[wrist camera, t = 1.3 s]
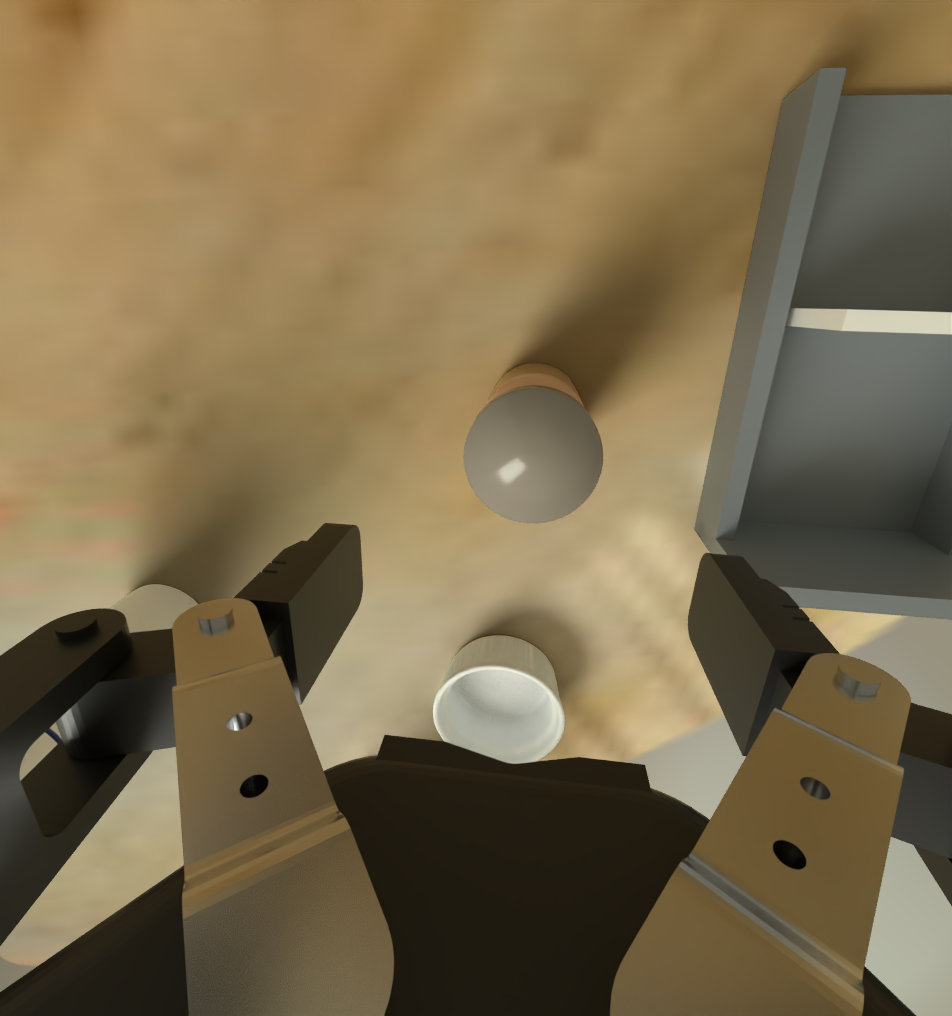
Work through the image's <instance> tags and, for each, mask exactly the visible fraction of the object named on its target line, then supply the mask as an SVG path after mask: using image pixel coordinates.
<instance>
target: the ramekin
mask: <svg viewBox="0 0 952 1016" xmlns="http://www.w3.org/2000/svg"><path fill="white" fill-rule="evenodd" d="M433 719H434V723H435V726H436V729H437V731H438V733H439V734H440V736H441V737H442V739H443V740H444V741H445V742H448V743H451V744H454V745H457V746H459V747H462V748H465V749H468V750H471V751H474V752H477V753H480V754H483V755H486V756H488V757H491V758H494V759H497V760H500V761H503V762H506V763H512V764H519V763H528V762H535V761H537V760H539V759H541V758H543V757H544V756H546V755H547V754H548V753H550V752H551V751H552V750H553V749H554V748H555V746H556V745H557V744H558V742H559V741H560V739H561V737H562V735H563V732H564V728H565V713H564V709H563V705H562V702H561V700H560V698H559V692H558V687H557V681H556V677H555V672H554V669H553V667H552V665H551V663H550V662H549V660H548V659H547V657H546V656H545V655H544V654H543V653H542V652H541V651H540V650H539V649H538V648H537V647H535V646H533V645H532V644H530V643H528V642H526V641H524V640H521V639H519V638H515V637H511V636H504V635H494V636H487V637H482V638H479V639H476V640H474V641H472V642H470V643H469V644H467V645H466V646H465V647H463V648H462V649H461V650H460V651H459V652H458V653H457V654H456V655H455V657H454V658H453V659H452V661H451V663H450V666H449V668H448V670H447V673H446V676H445V679H444V682H443V684H442V686H441V687H440V689H439V691H438V693H437V695H436V697H435V700H434V704H433Z"/></svg>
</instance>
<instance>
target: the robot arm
mask: <svg viewBox="0 0 952 1016" xmlns="http://www.w3.org/2000/svg"><path fill="white" fill-rule="evenodd" d="M362 591H363V576H362V559H361V541H360V532H359V529H358V527H357V526H356V525H346V524H333V523H325V524H323V525H322V526H321V527H320V528H319V530H318V531H317V532H316V533H315V534H314V535H313V536H312V537H311V538H310V539H309V540H308V541H300V542H298V543H296V544H294V545H292V546H290V547H288V548H286V549H284V550H283V551H282V552H281V553H280V554H279V555H278V556H277V557H275V558H274V559H273V560H272V563H269V564H268V565H267V566H266V567H265V568H264V569H263V571H262V573H261V572H260V573H259V574H258V575H257V576H256V577H255V578H254V579H253V580H252V581H251V582H250V583H249V584H248V585H247V586H245V587H244V588H243V589H242V590H241V591H240V592H239V593H238V594H237V595H236V596H235V597H234V598H221V599H215V600H211V601H207V602H204V603H201V604H198V605H196V606H194V607H191V608H190V609H188V610H186V611H185V612H183V613H182V614H181V615H180V616H179V617H178V618H177V619H176V620H175V621H174V624H173V627H172V628H171V629H162V630H152V631H143V632H133V633H130V632H129V628H128V624H127V620H126V617H125V615H124V614H123V613H122V612H120V611H118V610H114V609H91V610H84V611H80V612H76V613H72V614H69V615H66V616H63V617H60V618H58V619H56V620H53V621H51V622H49V623H48V624H46V625H44V626H42V627H41V628H39V629H38V630H36V631H35V632H34V633H32V634H31V635H29V636H28V637H26V638H25V639H24V640H22V641H21V642H19V643H18V644H16V645H15V646H14V647H12V648H11V649H9V650H8V651H6V652H5V653H4V654H2V655H1V656H0V946H1V944H2V943H3V942H4V941H5V939H6V938H7V937H8V936H9V934H10V933H11V932H12V930H13V929H14V928H15V927H16V925H17V924H18V923H19V921H20V920H21V919H22V918H23V916H24V915H25V914H26V913H27V911H28V910H29V909H30V907H31V906H32V905H33V904H34V902H35V901H36V900H37V898H38V897H39V896H40V895H41V893H42V892H43V891H44V890H45V888H46V887H47V886H48V884H49V883H50V882H51V881H52V879H53V878H54V877H55V875H56V874H57V873H58V872H59V870H60V869H61V868H62V867H63V865H64V864H65V863H66V861H67V860H68V859H69V858H70V856H71V855H72V854H73V852H74V851H75V850H76V849H77V847H78V846H79V845H80V844H81V842H82V841H83V840H84V838H85V837H86V836H87V835H88V833H89V832H90V831H91V829H92V828H93V827H94V826H95V824H96V823H97V822H98V821H99V819H100V818H101V817H102V815H103V814H104V813H105V812H106V810H107V809H108V808H109V807H110V805H111V804H112V803H113V801H114V800H115V799H116V798H117V796H118V795H119V794H120V792H121V791H122V790H123V789H124V787H125V786H126V785H127V784H128V782H129V781H130V780H131V778H132V777H133V776H134V775H135V773H136V772H137V771H138V769H139V768H140V767H141V766H142V764H143V763H144V762H145V761H146V759H147V758H148V757H149V755H150V754H151V753H152V751H153V750H158V749H164V748H171V747H176V756H177V770H178V785H179V799H180V814H181V828H182V843H183V857H184V866H182V867H181V868H179V869H178V870H176V871H175V872H173V873H172V874H171V875H169V876H168V877H166V878H165V879H163V880H162V881H160V882H159V883H158V884H156V885H155V886H153V887H152V888H150V889H149V890H147V891H146V892H144V893H143V894H142V895H140V896H139V897H137V898H136V899H134V900H133V901H131V902H130V903H129V904H127V905H126V906H124V907H123V908H121V909H120V910H118V911H117V912H116V913H114V914H113V915H111V916H110V917H108V918H107V919H105V920H104V921H103V922H101V923H100V924H98V925H97V926H95V927H94V928H92V929H91V930H90V931H88V932H87V933H85V934H84V935H82V936H81V937H79V938H78V939H77V940H75V941H74V942H72V943H71V944H69V945H68V946H66V947H65V948H64V949H62V950H61V951H59V952H58V953H56V954H55V955H53V956H52V957H50V958H49V959H48V960H46V961H45V962H43V963H42V964H40V965H39V966H37V967H36V968H35V969H33V970H32V971H30V972H29V973H27V974H26V975H24V976H23V977H22V978H20V979H19V980H17V981H16V982H14V983H13V984H11V985H10V986H9V987H7V988H6V989H4V990H3V991H1V992H0V1016H916V1015H915V1014H914V1013H913V1012H912V1011H911V1010H910V1009H909V1008H908V1007H907V1006H906V1005H904V1004H903V1003H902V1002H901V1001H900V1000H899V999H898V998H897V997H896V996H895V995H894V994H893V993H892V992H891V991H890V990H889V989H888V988H887V987H886V986H885V985H884V984H883V983H882V982H881V981H879V980H878V979H877V978H876V977H875V976H874V975H873V974H872V973H871V972H870V971H869V970H868V969H867V968H866V967H865V966H864V965H865V960H866V955H867V950H868V946H869V941H870V936H871V931H872V926H873V921H874V916H875V911H876V906H877V901H878V896H879V892H880V887H881V882H882V877H883V872H884V867H885V862H886V858H887V852H888V848H889V842H890V838H891V837H894V838H896V839H899V840H902V841H905V842H907V843H910V844H912V845H914V846H915V848H916V850H917V852H918V853H919V855H920V856H921V858H922V860H923V861H924V863H925V864H926V866H927V867H928V869H929V871H930V872H931V874H932V875H933V877H934V879H935V880H936V882H937V883H938V885H939V887H940V888H941V890H942V891H943V893H944V895H945V896H946V898H947V899H948V901H949V902H950V904H951V906H952V714H948V713H945V712H941V711H938V710H934V709H931V708H927V707H924V706H920V705H917V704H914V703H911V698H910V695H909V693H908V691H907V690H906V688H905V687H904V686H903V685H902V684H901V683H900V682H899V681H898V680H897V679H896V678H894V677H893V676H891V675H890V674H889V673H887V672H885V671H884V670H882V669H880V668H878V667H876V666H874V665H872V664H870V663H868V662H865V661H863V660H860V659H857V658H854V657H850V656H846V655H841V654H839V652H838V651H837V650H836V649H835V648H834V647H833V645H832V644H831V643H830V642H829V641H828V640H827V638H826V637H825V636H824V635H823V634H822V633H821V631H820V630H819V629H818V628H817V627H816V626H815V624H814V623H813V622H810V621H809V617H808V616H807V615H806V614H805V613H804V612H803V610H802V609H799V606H798V605H797V604H796V602H795V601H794V600H793V599H792V598H791V597H790V595H789V594H788V593H787V592H786V591H784V590H783V589H781V588H779V587H778V586H776V585H775V584H773V583H772V582H770V581H768V580H767V579H761V578H760V577H759V576H758V575H757V573H756V572H755V571H754V570H753V568H752V567H751V566H750V565H749V564H748V562H747V561H746V560H745V559H744V557H742V556H738V555H725V554H712V553H705V554H704V555H703V557H702V559H701V561H700V565H699V569H698V573H697V578H696V582H695V587H694V592H693V596H692V601H691V605H690V610H689V615H688V631H689V637H690V640H691V642H692V645H693V647H694V649H695V651H696V653H697V656H698V658H699V660H700V662H701V665H702V667H703V669H704V671H705V673H706V676H707V678H708V680H709V682H710V684H711V687H712V689H713V691H714V693H715V696H716V698H717V700H718V702H719V704H720V707H721V709H722V711H723V713H724V715H725V718H726V720H727V722H728V724H729V726H730V729H731V731H732V733H733V735H734V738H735V740H736V742H737V744H738V746H739V749H740V751H741V753H742V755H743V756H746V758H745V760H744V762H743V763H742V765H741V767H740V769H739V770H738V772H737V774H736V776H735V777H734V779H733V781H732V783H731V784H730V786H729V788H728V790H727V791H726V793H725V795H724V797H723V798H722V800H721V802H720V804H719V805H718V807H717V809H716V810H715V812H714V814H713V816H712V817H711V819H710V820H709V819H708V818H707V817H705V816H704V815H702V814H701V813H699V812H697V811H696V810H694V809H693V808H692V807H690V806H688V805H686V804H685V803H683V802H681V801H679V800H677V799H676V798H673V797H671V796H669V795H667V794H665V793H662V792H660V791H657V790H654V789H652V788H650V784H649V780H648V776H647V771H646V768H645V765H641V764H633V763H624V762H615V761H607V760H598V759H589V758H581V757H577V758H567V759H557V760H548V761H538V762H528V763H519V764H512V763H506V762H503V761H500V760H497V759H494V758H491V757H488V756H486V755H483V754H480V753H477V752H474V751H471V750H468V749H465V748H462V747H459V746H457V745H454V744H451V743H448V742H442V741H433V740H425V739H416V738H407V737H399V736H390V735H385V736H384V739H383V742H382V744H381V747H380V750H379V753H378V755H377V756H369V757H364V758H359V759H355V760H351V761H348V762H345V763H342V764H339V765H336V766H334V767H332V768H329V769H327V770H325V771H323V769H322V766H321V763H320V761H319V758H318V755H317V752H316V750H315V747H314V744H313V742H312V739H311V736H310V734H309V731H308V728H307V726H306V723H305V720H304V718H303V715H302V712H301V709H300V707H299V705H301V704H302V703H303V701H304V699H305V697H306V696H307V694H308V692H309V691H310V689H311V687H312V686H313V684H314V682H315V681H316V679H317V677H318V675H319V674H320V672H321V670H322V669H323V667H324V665H325V664H326V662H327V660H328V658H329V657H330V655H331V653H332V652H333V650H334V648H335V647H336V645H337V643H338V642H339V640H340V638H341V636H342V635H343V633H344V631H345V630H346V628H347V626H348V625H349V623H350V621H351V620H352V618H353V616H354V614H355V613H356V611H357V609H358V607H359V605H360V602H361V598H362ZM55 722H56V724H57V727H58V730H59V733H60V735H61V738H62V740H61V741H60V742H59V743H58V744H57V745H56V746H55V747H54V748H53V749H52V750H51V751H50V752H49V753H48V754H47V755H46V756H45V757H44V758H43V759H42V760H41V761H40V762H39V763H38V764H37V765H36V766H35V767H34V768H33V769H32V770H31V771H30V772H29V773H28V774H27V775H26V776H25V777H24V778H23V779H22V780H21V781H20V775H19V773H20V767H21V763H22V760H23V758H24V756H25V754H26V752H27V751H28V749H29V748H30V747H31V745H32V744H33V743H34V742H35V741H36V740H37V739H38V738H39V737H40V736H41V735H42V734H44V733H45V732H46V731H47V730H48V729H49V728H50V727H51V726H52V725H53V724H54V723H55Z"/></svg>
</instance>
